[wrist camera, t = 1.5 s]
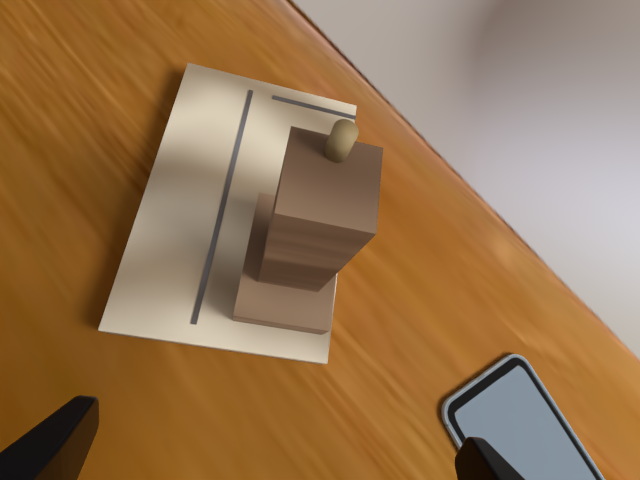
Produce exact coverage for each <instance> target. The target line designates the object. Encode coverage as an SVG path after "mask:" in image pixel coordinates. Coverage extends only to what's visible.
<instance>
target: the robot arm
mask: <svg viewBox="0 0 640 480" xmlns="http://www.w3.org/2000/svg"><path fill="white" fill-rule="evenodd" d="M98 425H99V402H98V398H97V397H93V396H84V395H79V396H76V397H74V398H73V399H72V400H70V401H69V402H68V403H66V404H65V405H64V406H62V407H61V408H60V409H58V410H57V411H55V412H54V413H53V414H51V415H50V416H49V417H47V418H46V419H45V420H43V421H42V422H41V423H39V424H38V425H37V426H35V427H34V428H33V429H31V430H30V431H29V432H27V433H26V434H25V435H23V436H22V437H21V438H19V439H18V440H17V441H15V442H14V443H13V444H11V445H10V446H8V447H7V448H6V449H4V450H3V451H2V452H0V480H77V478H78V476H79V473H80V471H81V469H82V466H83V464H84V461H85V459H86V457H87V454H88V452H89V449H90V447H91V445H92V442H93V440H94V437H95V435H96V432H97V429H98ZM455 469H456V473H457V478H458V480H525V479H524V478H523V477H522V476H521V475H520V474H519V473H518V472H517V471H516V470H515V469H514V468H513V467H512V466H511V465H510V464H509V463H508V462H507V461H506V460H505V459H504V458H503V457H502V456H501V455H500V454H499V453H498V452H497V451H496V450H495V449H494V448H493V447H492V446H491V445H490V444H489V443H488V442H487V441H486V440H485V439H483V438H480V437H467V438H466V439H465V440H464V442H463V444H462V446H461V448H460V449H459V451H458V453H457V455H456V457H455Z"/></svg>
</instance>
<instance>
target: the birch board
mask: <svg viewBox="0 0 640 480" xmlns="http://www.w3.org/2000/svg"><path fill="white" fill-rule="evenodd" d="M355 115H356V106H355V105H351V104H347V103H344V102H340V101H336V100H332V99H328V98H324V97H320V96H316V95H312V94H308V93H305V92H301V91H297V90H293V89H289V88H285V87H281V86H277V85H273V84H269V83H265V82H262V81H258V80H254V79H250V78H246V77H242V76H238V75H234V74H230V73H226V72H223V71H219V70H215V69H211V68H207V67H203V66H199V65H195V64H191V63H188V64H187V67H186V70H185V73H184V76H183V79H182V82H181V85H180V88H179V91H178V94H177V97H176V100H175V103H174V106H173V109H172V112H171V115H170V118H169V121H168V124H167V127H166V130H165V133H164V135H163V138H162V141H161V144H160V147H159V150H158V153H157V156H156V159H155V162H154V165H153V168H152V171H151V174H150V177H149V180H148V183H147V186H146V189H145V192H144V195H143V198H142V201H141V204H140V207H139V210H138V213H137V216H136V219H135V222H134V225H133V228H132V231H131V234H130V237H129V240H128V242H127V245H126V248H125V251H124V254H123V257H122V260H121V263H120V266H119V269H118V272H117V275H116V278H115V281H114V284H113V287H112V290H111V293H110V296H109V299H108V302H107V305H106V308H105V311H104V314H103V317H102V320H101V323H100V326H99V329H98V330H99V331H102V332H105V333H109V334H116V335H123V336H129V337H136V338H143V339H150V340H157V341H164V342H171V343H178V344H184V345H191V346H198V347H205V348H212V349H219V350H226V351H233V352H240V353H246V354H253V355H260V356H267V357H274V358H281V359H288V360H295V361H301V362H308V363H315V364H327V361H328V352H329V343H330V335H331V326H332V318H331V326H330V331H329V332H327V333H325V334H323V335H319V334H313V333H306V332H300V331H294V330H287V329H281V328H275V327H268V326H262V325H256V324H249V323H243V322H237V321H233V313H234V308H235V303H236V299H237V294H238V289H239V284H240V280H241V275H242V270H243V265H244V261H245V256H246V251H247V246H248V242H249V237H250V232H251V227H252V223H253V218H254V213H255V208H256V204H257V199H258V194H259V192H260V193H265V194H270V195H275V196H276V191H277V187H278V182H279V178H280V173H281V169H282V164H283V160H284V155H285V151H286V146H287V142H288V137H289V133H290V128H291V126H294V127H298V128H302V129H306V130H311V131H315V132H319V133H323V134H327V135H330V133H331V130H332V128H333V125H334V123H335V122H336V121H337V120H340V119H347V120H350V121H352V122H353V123H354V124H355V117H356V116H355ZM336 282H337V274H336ZM335 291H336V283H335ZM335 291H334V299H335ZM333 308H334V300H333ZM332 317H333V309H332Z"/></svg>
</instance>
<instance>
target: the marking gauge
mask: <svg viewBox="0 0 640 480" xmlns="http://www.w3.org/2000/svg"><path fill="white" fill-rule="evenodd" d="M358 133H359V131H358V128H357V126H356V125H355V124H354V123H353V122H352V121H350V120H347V119H340V120H337V121H336V122H335V123H334V125H333V128H332V130H331V133H330V135H327V134H323V133H319V132H315V131H311V130H306V129H302V128H298V127H294V126H291V128H290V133H289V137H288V142H287V146H286V151H285V155H284V160H283V164H282V169H281V173H280V178H279V182H278V187H277V191H276V196H275V195H270V194H265V193H260V192H259V194H258V199H257V204H256V208H255V213H254V218H253V223H252V227H251V232H250V237H249V242H248V246H247V251H246V256H245V261H244V265H243V270H242V275H241V280H240V284H239V289H238V294H237V299H236V303H235V308H234V313H233V321H237V322H243V323H249V324H256V325H262V326H268V327H275V328H281V329H287V330H294V331H300V332H306V333H313V334H319V335H323V334H325V333H327V332H329V331H330V326H331V318H332V309H333V300H334V291H335V283H336V274H337V273H338V272H339V271H340V270H341V269H342V268H343V267H344V266H345V265H346V264H347V263H348V262H349V261H350V260H351V259H352V258H353V257H354V256H355V255H356V254H357V253H358V252H359V251H360V250H361V249H362V248H363V247H364V246H365V245H366V244H367V243H368V242H369V241H370V240H371V239H372V238H373V237H374V236H375V235H376V231H377V218H378V205H379V192H380V179H381V167H382V154H383V148H381V147H377V146H373V145H369V144H364V143H360V142H356V141H355V140H356V139H357V137H358Z"/></svg>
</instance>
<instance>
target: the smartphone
mask: <svg viewBox="0 0 640 480" xmlns="http://www.w3.org/2000/svg"><path fill="white" fill-rule="evenodd" d="M441 415H442V420H443V422H444V424H445V426H446V428H447V430H448V431H449V433H450V435H451V437H452V439H453V440H454V442H455V444H456V446H457V447H458V449H460V448H461V446H462V444H463V442H464V440H465V439H466V438H467V437H480V438H483V439H485V440H486V441H487V442H488V443H489V444H490V445H491V446H492V447H493V448H494V449H495V450H496V451H497V452H498V453H499V454H500V455H501V456H502V457H503V458H504V459H505V460H506V461H507V462H508V463H509V464H510V465H511V466H512V467H513V468H514V469H515V470H516V471H517V472H518V473H519V474H520V475H521V476H522V477H523V478H524V479H525V480H605V479H604V477H603V476H602V474H601V473H600V471H599V470H598V468H597V467H596V465H595V463H594V462H593V460H592V459H591V457H590V456H589V454H588V453H587V451H586V450H585V448H584V447H583V445H582V443H581V442H580V440H579V439H578V437H577V436H576V434H575V433H574V431H573V430H572V428H571V427H570V425H569V424H568V422H567V420H566V419H565V417H564V416H563V414H562V413H561V411H560V410H559V408H558V407H557V405H556V404H555V402H554V400H553V399H552V397H551V396H550V394H549V393H548V391H547V390H546V388H545V387H544V385H543V384H542V382H541V380H540V379H539V377H538V376H537V374H536V373H535V371H534V370H533V368H532V367H531V365H530V364H529V362H528V361H527V360H526V359H525V358H524V357H522V356H521V355H518V354H511V355H507V356H505V357H504V358H503V359H501V360H500V361H498V362H497V363H496V364H494V365H493V366H491V368H489V369H487V370H486V371H485V372H483V373H482V374H481V375H480V376H478V377H477V378H475V379H473V380H472V381H471V382H469V383H468V384H466V385H465V386H464V387H463V388H461V389H460V390H458V391H457V392H455V394H453V395H452V396H450V397H448V398H447V399H446V400H445V401H444V403H443V405H442V410H441Z"/></svg>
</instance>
